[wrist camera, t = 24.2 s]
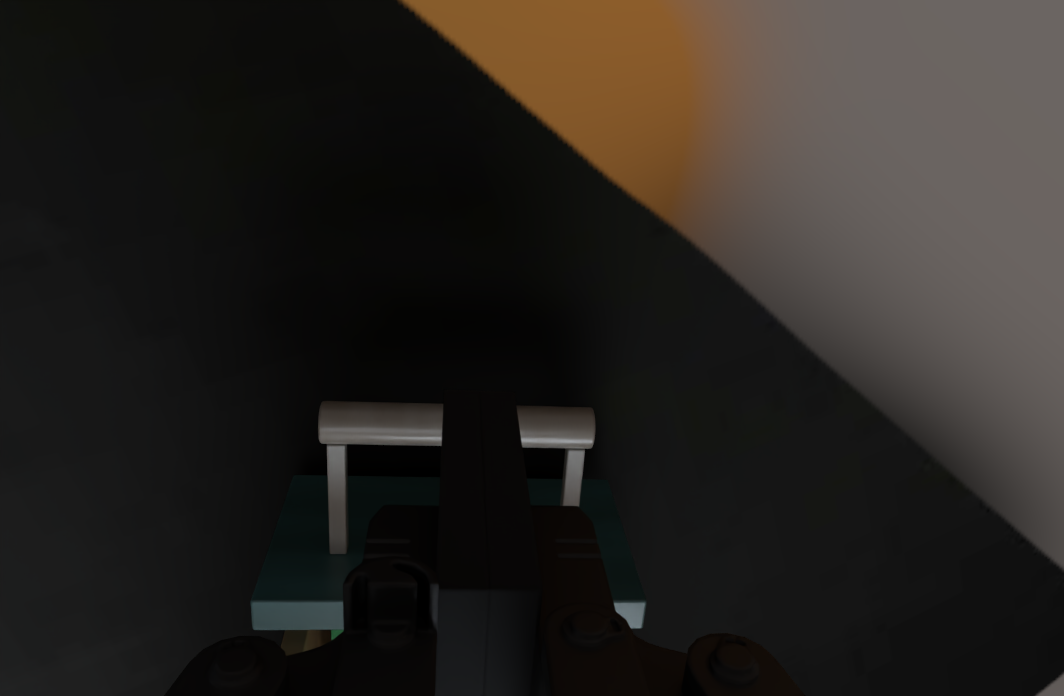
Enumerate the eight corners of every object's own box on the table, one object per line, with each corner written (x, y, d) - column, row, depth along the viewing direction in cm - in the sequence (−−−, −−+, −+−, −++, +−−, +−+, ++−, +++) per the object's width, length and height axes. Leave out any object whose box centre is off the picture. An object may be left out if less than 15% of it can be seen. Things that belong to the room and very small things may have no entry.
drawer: (287, 342, 32) (238, 442, 24) (622, 353, 33) (669, 450, 26) (304, 734, 39) (270, 900, 32) (578, 730, 40) (605, 887, 33)
